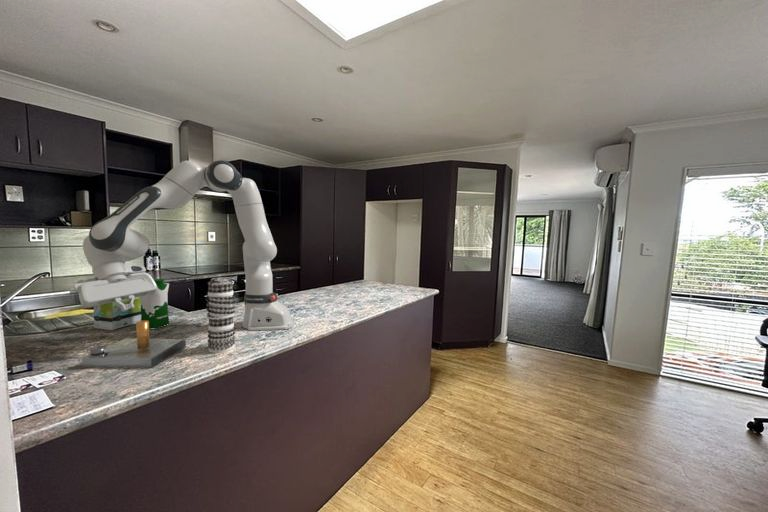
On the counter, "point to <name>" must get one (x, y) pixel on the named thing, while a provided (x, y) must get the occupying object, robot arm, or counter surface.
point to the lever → (142, 343)
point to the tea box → (116, 315)
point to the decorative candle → (220, 315)
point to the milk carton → (156, 306)
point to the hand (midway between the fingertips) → (129, 309)
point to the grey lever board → (136, 354)
